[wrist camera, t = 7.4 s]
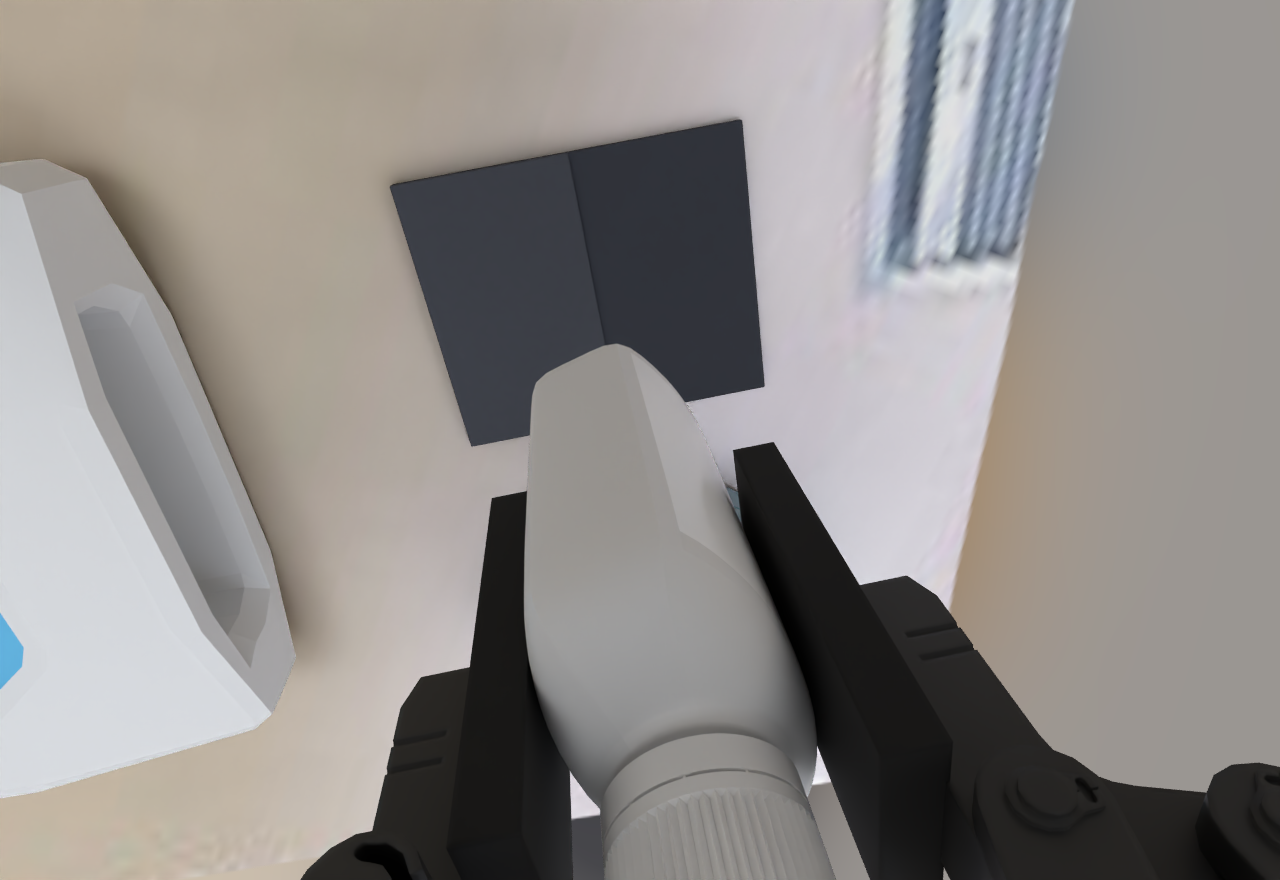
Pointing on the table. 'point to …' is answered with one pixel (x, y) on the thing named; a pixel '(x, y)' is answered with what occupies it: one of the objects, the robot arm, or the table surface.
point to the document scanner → (114, 512)
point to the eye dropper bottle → (661, 637)
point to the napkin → (589, 268)
